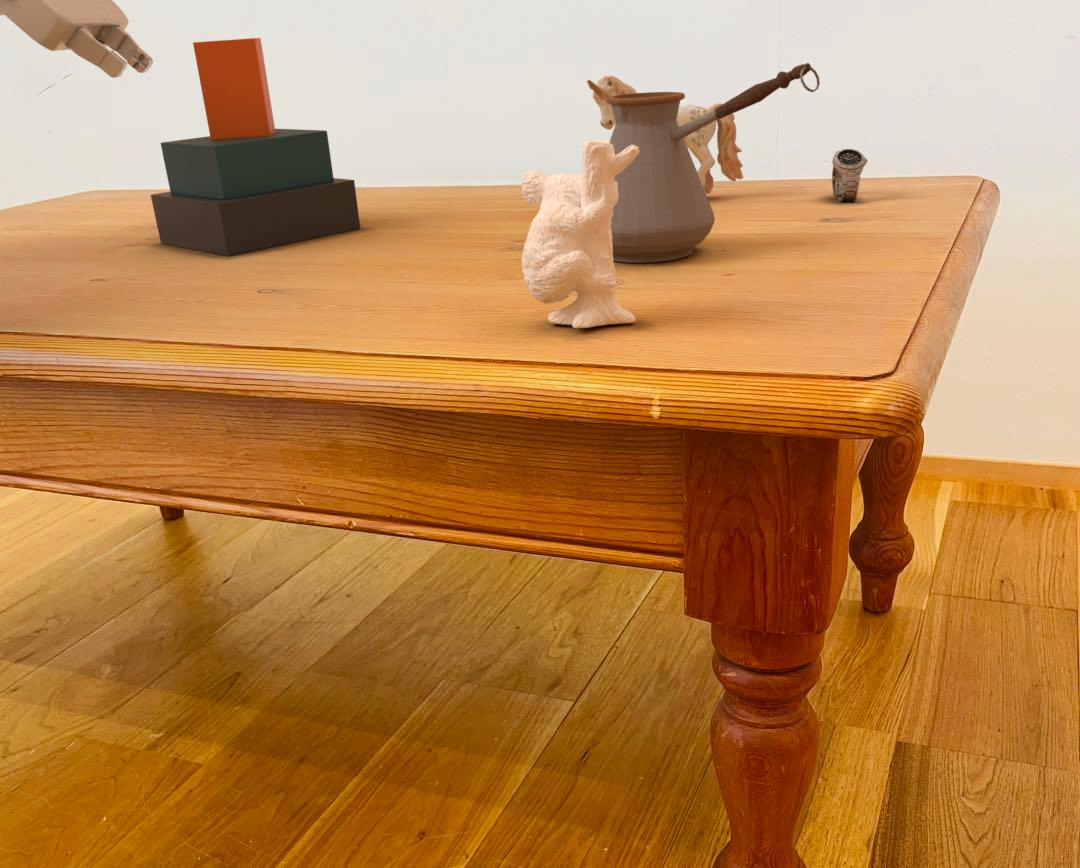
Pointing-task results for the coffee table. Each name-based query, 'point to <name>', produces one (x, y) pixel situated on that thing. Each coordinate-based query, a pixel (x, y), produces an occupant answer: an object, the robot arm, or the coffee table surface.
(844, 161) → the wristwatch
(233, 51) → the orange block
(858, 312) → the coffee table surface
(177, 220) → the box stack
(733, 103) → the coffee pot
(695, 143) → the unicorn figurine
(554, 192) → the koala figurine
